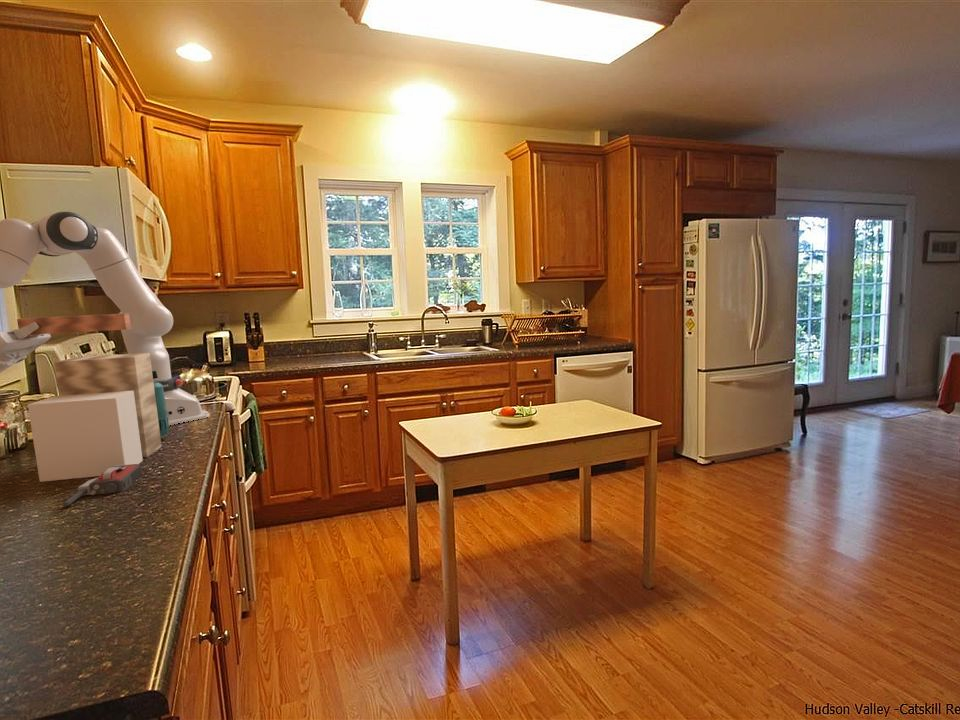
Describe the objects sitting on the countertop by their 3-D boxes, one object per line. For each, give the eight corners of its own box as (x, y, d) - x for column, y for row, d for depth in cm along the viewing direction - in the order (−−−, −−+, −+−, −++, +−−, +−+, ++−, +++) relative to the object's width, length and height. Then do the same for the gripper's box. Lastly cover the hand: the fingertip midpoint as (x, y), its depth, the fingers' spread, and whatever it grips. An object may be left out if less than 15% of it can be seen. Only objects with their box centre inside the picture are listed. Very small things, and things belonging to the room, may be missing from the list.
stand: (69, 464, 141) (54, 362, 138) (88, 453, 151) (75, 357, 148) (147, 457, 145) (134, 357, 141) (161, 446, 154) (149, 352, 151)
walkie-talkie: (104, 478, 130) (59, 511, 110) (101, 460, 129) (56, 490, 110) (145, 474, 132) (109, 506, 112) (143, 456, 131) (106, 485, 112)
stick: (19, 335, 139) (17, 319, 138) (26, 334, 142) (24, 318, 141) (125, 329, 143) (123, 313, 143) (130, 328, 146) (128, 313, 145)
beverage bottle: (162, 442, 159) (153, 372, 156) (139, 443, 159) (130, 373, 156) (175, 436, 165) (166, 369, 163) (152, 437, 165) (144, 369, 163)
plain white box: (39, 481, 129) (27, 404, 126) (63, 468, 138) (52, 396, 136) (125, 473, 132) (115, 398, 129) (142, 460, 142) (133, 390, 139)
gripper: (-47, 348, 129) (8, 315, 130) (9, 340, 149) (56, 311, 150) (-27, 370, 130) (27, 337, 131) (26, 359, 150) (72, 331, 151)
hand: (43, 323), depth 141 cm, fingers closed on stick, 3 cm apart
